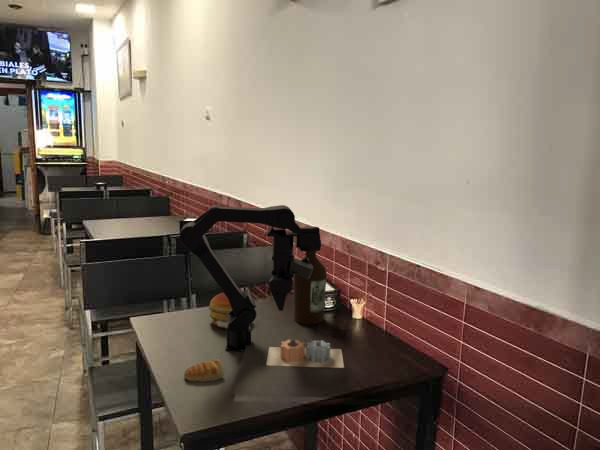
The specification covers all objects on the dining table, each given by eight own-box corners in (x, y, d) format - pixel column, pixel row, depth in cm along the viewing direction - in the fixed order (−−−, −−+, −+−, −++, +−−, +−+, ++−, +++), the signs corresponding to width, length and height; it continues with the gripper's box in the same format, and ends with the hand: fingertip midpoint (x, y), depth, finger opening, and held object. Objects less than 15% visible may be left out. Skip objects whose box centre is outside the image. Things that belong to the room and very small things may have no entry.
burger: (253, 316, 165) (253, 287, 163) (249, 332, 152) (249, 300, 150) (212, 315, 165) (212, 286, 163) (205, 331, 151) (204, 300, 150)
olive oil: (285, 318, 163) (287, 244, 158) (308, 311, 170) (310, 240, 166) (308, 328, 155) (311, 250, 151) (331, 320, 163) (334, 245, 158)
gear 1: (279, 361, 130) (280, 349, 129) (281, 351, 136) (281, 338, 136) (304, 362, 130) (304, 349, 129) (304, 351, 136) (304, 339, 136)
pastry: (187, 386, 119) (187, 371, 118) (181, 374, 125) (181, 360, 124) (225, 379, 123) (225, 365, 122) (218, 368, 129) (217, 354, 128)
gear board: (266, 369, 128) (266, 348, 127) (269, 351, 139) (269, 331, 138) (343, 372, 128) (344, 351, 127) (341, 353, 139) (341, 334, 138)
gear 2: (305, 362, 130) (306, 346, 129) (306, 351, 136) (306, 336, 135) (330, 363, 130) (330, 346, 129) (329, 352, 136) (329, 337, 135)
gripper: (312, 260, 129) (310, 317, 132) (311, 244, 147) (310, 295, 150) (269, 259, 129) (268, 316, 132) (274, 243, 147) (273, 294, 150)
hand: (281, 304), depth 141 cm, fingers open, 9 cm apart
